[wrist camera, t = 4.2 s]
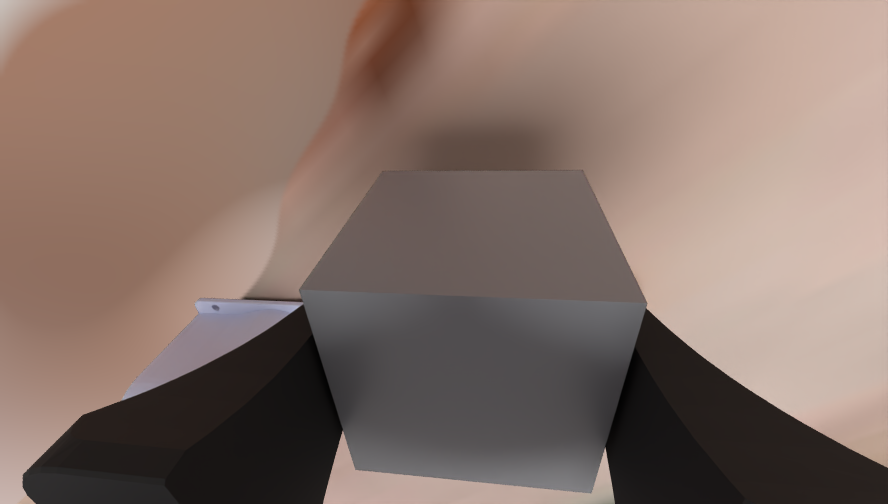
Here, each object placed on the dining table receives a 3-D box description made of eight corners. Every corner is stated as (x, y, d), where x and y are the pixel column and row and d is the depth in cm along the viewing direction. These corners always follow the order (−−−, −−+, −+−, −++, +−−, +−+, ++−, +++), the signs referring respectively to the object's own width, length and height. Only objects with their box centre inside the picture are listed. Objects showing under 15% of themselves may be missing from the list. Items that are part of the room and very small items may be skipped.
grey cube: (403, 316, 15) (355, 469, 10) (382, 170, 12) (299, 289, 7) (560, 324, 15) (591, 493, 10) (582, 170, 11) (647, 303, 6)
